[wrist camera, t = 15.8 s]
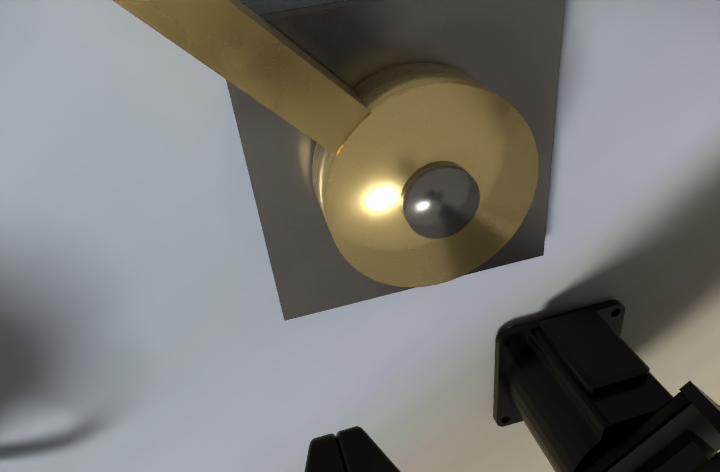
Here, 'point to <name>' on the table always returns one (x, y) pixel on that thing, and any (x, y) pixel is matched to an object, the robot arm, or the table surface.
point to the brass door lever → (378, 144)
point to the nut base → (354, 65)
